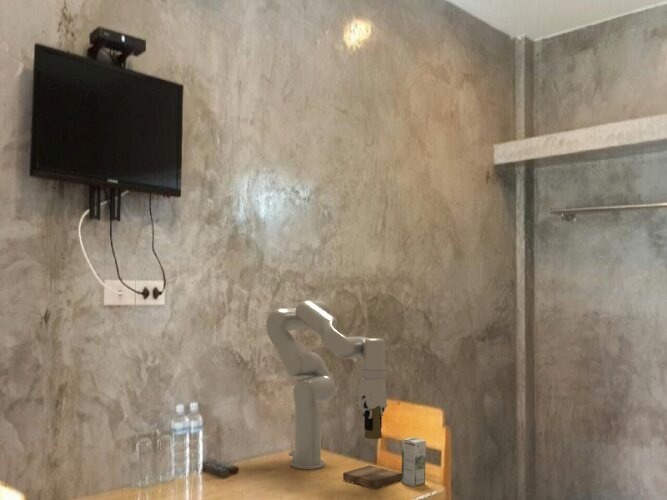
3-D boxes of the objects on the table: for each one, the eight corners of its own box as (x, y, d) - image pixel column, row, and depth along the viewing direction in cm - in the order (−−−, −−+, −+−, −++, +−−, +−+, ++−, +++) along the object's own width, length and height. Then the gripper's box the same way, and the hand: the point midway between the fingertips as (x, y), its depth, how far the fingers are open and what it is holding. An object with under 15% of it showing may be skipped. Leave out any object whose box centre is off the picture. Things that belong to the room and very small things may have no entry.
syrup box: (411, 480, 213) (412, 436, 215) (425, 484, 209) (426, 439, 210) (401, 483, 209) (401, 439, 211) (415, 487, 205) (415, 442, 206)
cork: (380, 439, 210) (381, 405, 211) (363, 438, 211) (363, 405, 212) (383, 435, 216) (383, 403, 217) (365, 434, 217) (366, 402, 218)
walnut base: (343, 480, 212) (343, 472, 212) (369, 472, 222) (369, 465, 222) (375, 489, 202) (375, 481, 203) (401, 480, 213) (401, 473, 213)
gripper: (380, 371, 224) (379, 424, 222) (349, 375, 212) (348, 431, 210) (397, 373, 219) (396, 427, 217) (366, 377, 206) (365, 434, 205)
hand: (373, 428), depth 214 cm, fingers closed on cork, 4 cm apart
